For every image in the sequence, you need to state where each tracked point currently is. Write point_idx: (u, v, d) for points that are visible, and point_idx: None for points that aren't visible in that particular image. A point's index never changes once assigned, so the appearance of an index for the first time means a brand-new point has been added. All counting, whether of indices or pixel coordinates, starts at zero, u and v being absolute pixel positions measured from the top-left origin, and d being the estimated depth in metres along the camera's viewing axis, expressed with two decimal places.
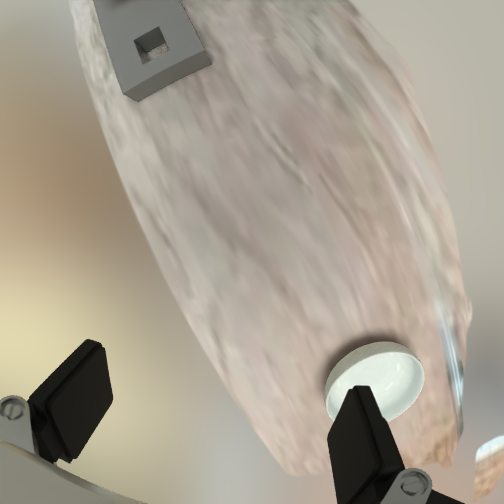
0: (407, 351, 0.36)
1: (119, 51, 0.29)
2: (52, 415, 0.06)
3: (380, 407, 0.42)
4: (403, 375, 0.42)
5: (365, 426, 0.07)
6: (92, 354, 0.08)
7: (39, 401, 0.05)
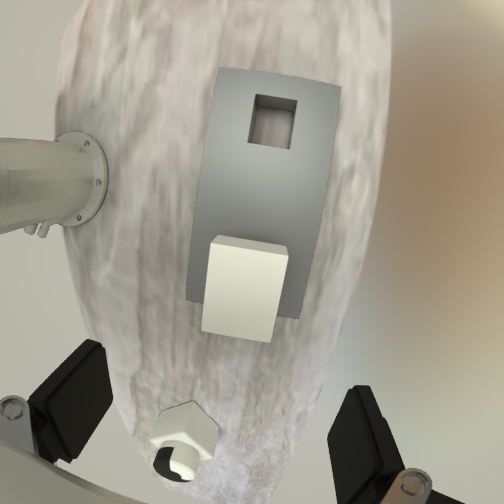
0: None
1: (316, 149, 0.26)
2: (52, 415, 0.06)
3: None
4: None
5: (365, 426, 0.07)
6: (92, 354, 0.09)
7: (39, 401, 0.05)
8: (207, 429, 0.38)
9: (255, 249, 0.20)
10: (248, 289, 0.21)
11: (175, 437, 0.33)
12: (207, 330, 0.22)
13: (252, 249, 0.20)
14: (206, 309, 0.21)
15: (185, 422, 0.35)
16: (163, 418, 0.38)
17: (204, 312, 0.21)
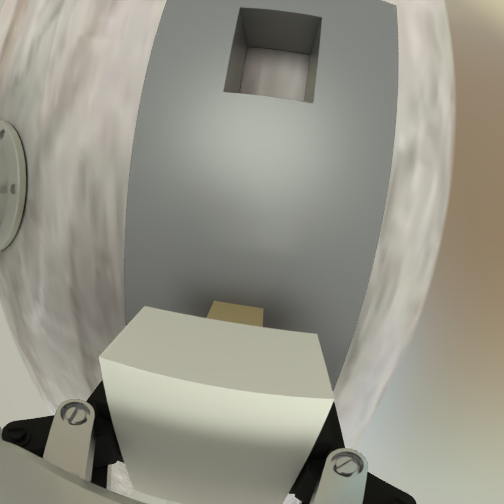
0: None
1: (365, 105, 0.11)
2: None
3: None
4: None
5: None
6: None
7: (107, 402, 0.06)
8: None
9: (230, 381, 0.06)
10: (218, 459, 0.06)
11: None
12: (146, 492, 0.07)
13: (221, 382, 0.06)
14: (133, 470, 0.07)
15: None
16: None
17: (130, 473, 0.07)
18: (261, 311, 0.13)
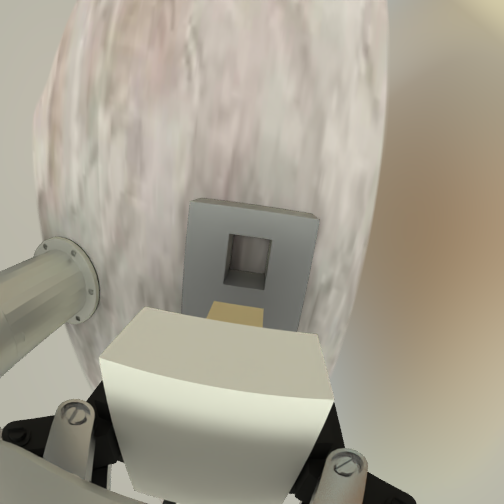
0: None
1: (289, 289, 0.28)
2: None
3: None
4: None
5: None
6: None
7: (107, 403, 0.06)
8: None
9: (230, 381, 0.06)
10: (218, 460, 0.06)
11: None
12: (146, 493, 0.07)
13: (221, 383, 0.06)
14: (133, 470, 0.07)
15: None
16: None
17: (130, 473, 0.07)
18: (261, 311, 0.13)
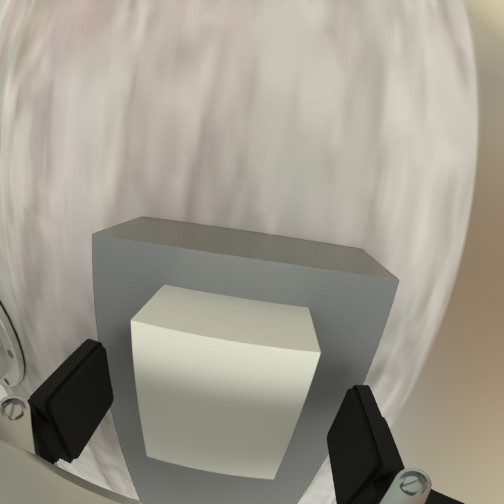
0: None
1: (317, 414, 0.12)
2: (53, 415, 0.06)
3: None
4: None
5: (364, 426, 0.07)
6: (93, 354, 0.09)
7: (40, 401, 0.06)
8: None
9: (238, 337, 0.08)
10: (226, 413, 0.08)
11: None
12: (157, 457, 0.09)
13: (230, 337, 0.08)
14: (148, 432, 0.09)
15: None
16: None
17: (145, 436, 0.09)
18: None
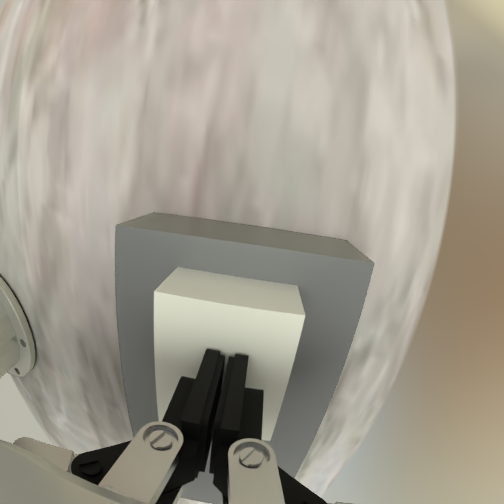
0: None
1: (308, 384, 0.14)
2: (205, 433, 0.07)
3: None
4: None
5: (223, 389, 0.08)
6: (219, 363, 0.10)
7: (196, 422, 0.07)
8: None
9: (240, 303, 0.10)
10: None
11: None
12: None
13: (234, 303, 0.10)
14: (161, 395, 0.11)
15: None
16: None
17: (159, 399, 0.11)
18: None
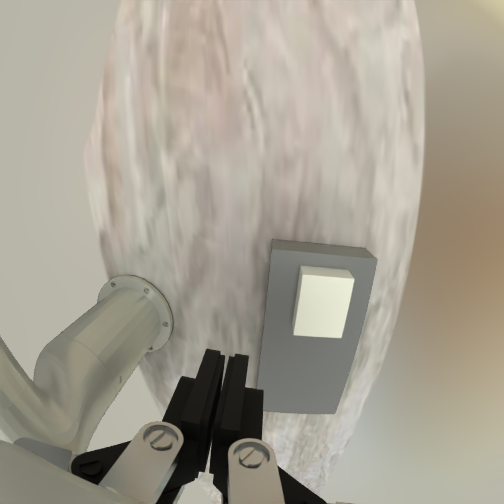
0: None
1: (353, 314, 0.32)
2: (205, 433, 0.07)
3: None
4: None
5: (223, 389, 0.08)
6: (219, 363, 0.10)
7: (196, 422, 0.07)
8: None
9: (332, 276, 0.29)
10: (328, 303, 0.29)
11: None
12: (298, 334, 0.30)
13: (330, 276, 0.29)
14: (298, 319, 0.30)
15: None
16: None
17: (296, 322, 0.30)
18: None
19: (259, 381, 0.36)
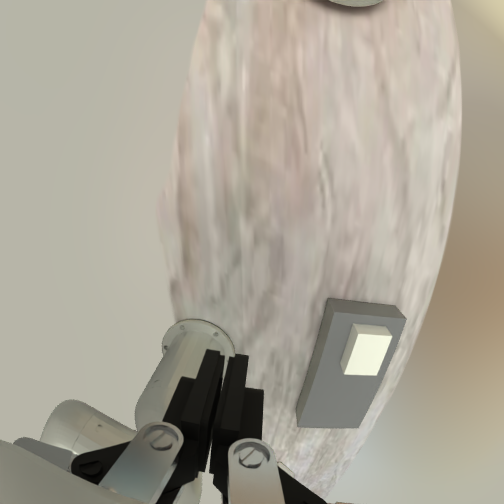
0: None
1: None
2: (205, 433, 0.07)
3: None
4: None
5: (224, 389, 0.08)
6: (219, 364, 0.10)
7: (196, 422, 0.07)
8: None
9: (377, 334, 0.36)
10: (371, 352, 0.37)
11: None
12: (347, 373, 0.38)
13: (376, 334, 0.36)
14: (349, 363, 0.37)
15: None
16: None
17: (348, 365, 0.37)
18: None
19: (306, 405, 0.43)
